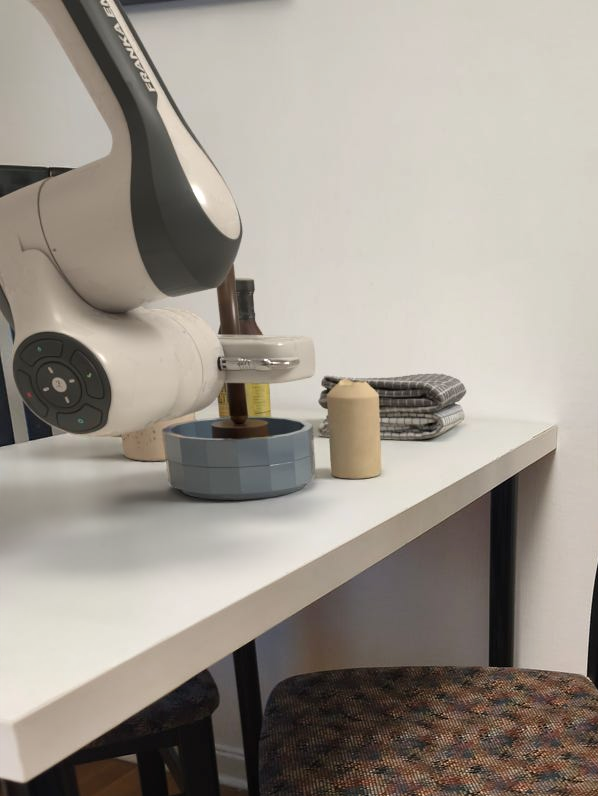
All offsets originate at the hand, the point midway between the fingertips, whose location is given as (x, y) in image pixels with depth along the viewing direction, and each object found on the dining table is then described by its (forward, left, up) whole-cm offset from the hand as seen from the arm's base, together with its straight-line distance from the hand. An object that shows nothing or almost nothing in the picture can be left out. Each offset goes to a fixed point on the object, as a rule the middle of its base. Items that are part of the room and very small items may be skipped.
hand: (236, 350), depth 88 cm
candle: (+11, +5, -14) cm, 18 cm away
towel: (+13, +34, -14) cm, 39 cm away
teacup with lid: (-15, +15, -14) cm, 25 cm away
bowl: (0, -1, -13) cm, 13 cm away
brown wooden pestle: (0, -1, -10) cm, 10 cm away
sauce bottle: (-4, +19, -14) cm, 24 cm away
